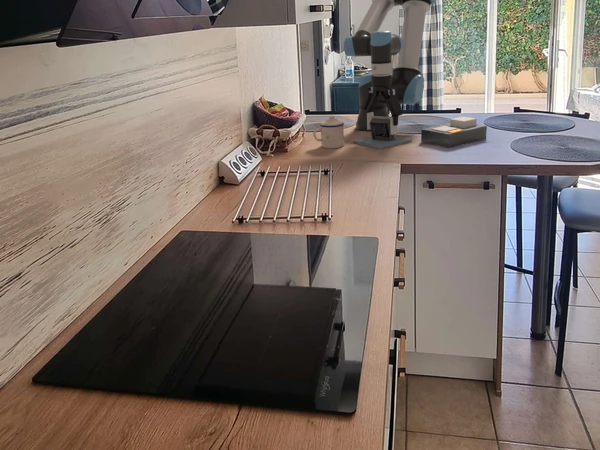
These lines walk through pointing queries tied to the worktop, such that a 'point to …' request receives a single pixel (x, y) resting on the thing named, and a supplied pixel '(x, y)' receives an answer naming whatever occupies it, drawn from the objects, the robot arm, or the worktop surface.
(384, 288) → the worktop surface
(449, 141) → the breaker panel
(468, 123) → the block
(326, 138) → the teacup with lid
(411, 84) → the robot arm
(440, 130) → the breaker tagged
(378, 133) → the electrical switch
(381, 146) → the pad
